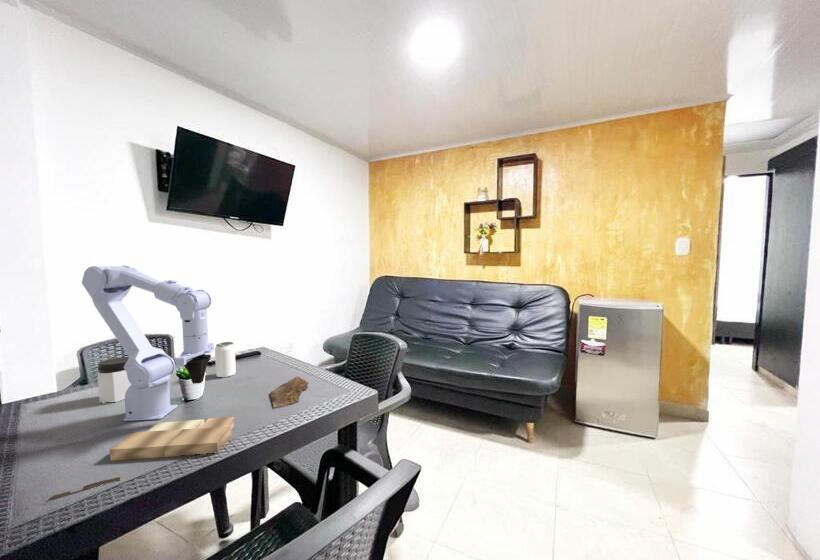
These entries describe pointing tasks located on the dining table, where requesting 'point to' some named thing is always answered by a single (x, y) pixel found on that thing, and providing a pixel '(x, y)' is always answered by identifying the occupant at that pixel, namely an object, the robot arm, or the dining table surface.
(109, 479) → the wooden stick
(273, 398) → the wooden fragment
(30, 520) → the dining table surface
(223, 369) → the can
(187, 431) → the angled wooden block
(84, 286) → the robot arm
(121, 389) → the jar
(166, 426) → the plank
